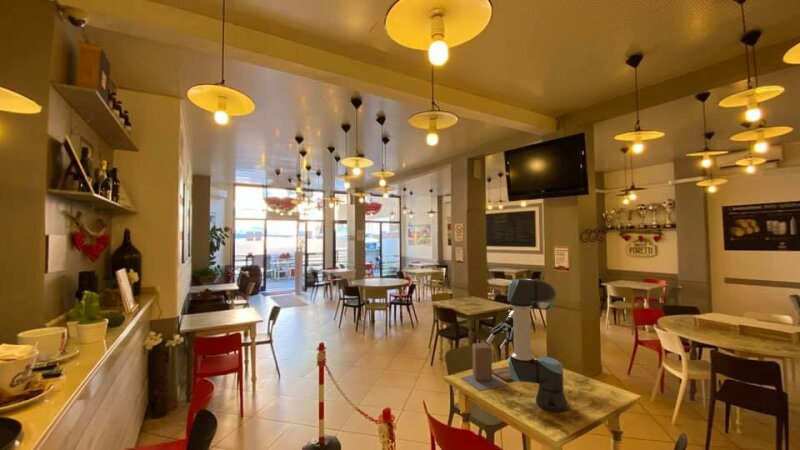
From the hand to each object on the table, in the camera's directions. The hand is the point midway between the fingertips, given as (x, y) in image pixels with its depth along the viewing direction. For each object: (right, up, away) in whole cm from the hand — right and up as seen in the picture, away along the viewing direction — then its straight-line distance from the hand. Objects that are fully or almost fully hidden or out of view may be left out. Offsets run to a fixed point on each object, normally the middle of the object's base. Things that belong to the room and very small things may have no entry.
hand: (494, 345), depth 214 cm
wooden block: (-9, -18, -5) cm, 21 cm away
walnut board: (+9, -19, 0) cm, 20 cm away
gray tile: (-9, -18, -9) cm, 22 cm away
